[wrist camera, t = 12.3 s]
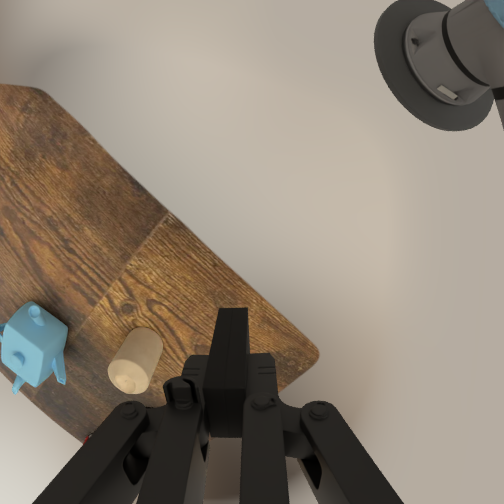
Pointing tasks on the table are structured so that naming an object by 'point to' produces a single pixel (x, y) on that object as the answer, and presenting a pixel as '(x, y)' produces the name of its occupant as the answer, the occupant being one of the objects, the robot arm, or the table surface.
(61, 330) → the teapot
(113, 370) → the candle
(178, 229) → the table surface
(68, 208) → the table surface
